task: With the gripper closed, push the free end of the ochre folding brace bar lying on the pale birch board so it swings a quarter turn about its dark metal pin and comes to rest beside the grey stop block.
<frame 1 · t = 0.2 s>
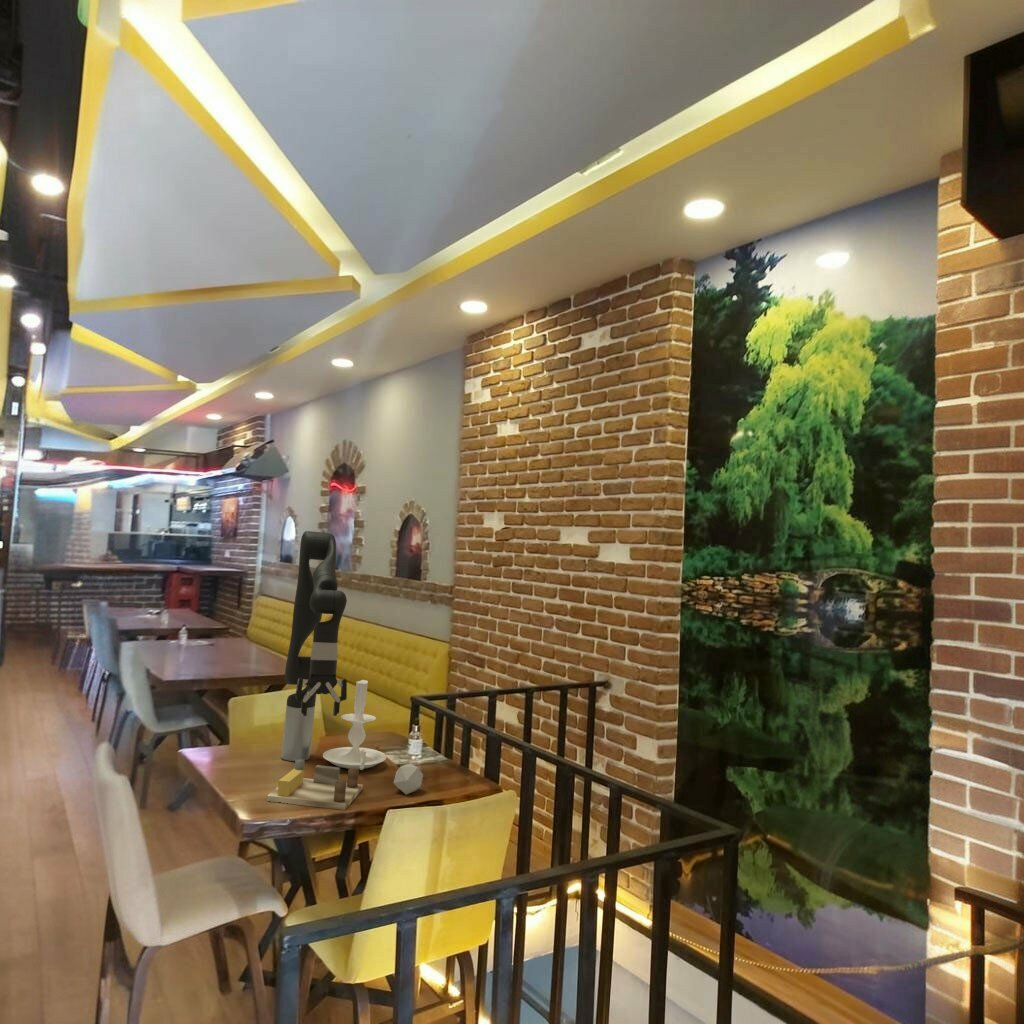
hand: (319, 715, 218), 22 cm above the table, tool pointing down, fingers open, 8 cm apart
brace bar: (292, 776, 215), point 5 cm above the table, hinge at 0.0°
seat board: (316, 795, 216), on the table
candlestick: (355, 767, 245), on the table
die: (407, 792, 226), on the table
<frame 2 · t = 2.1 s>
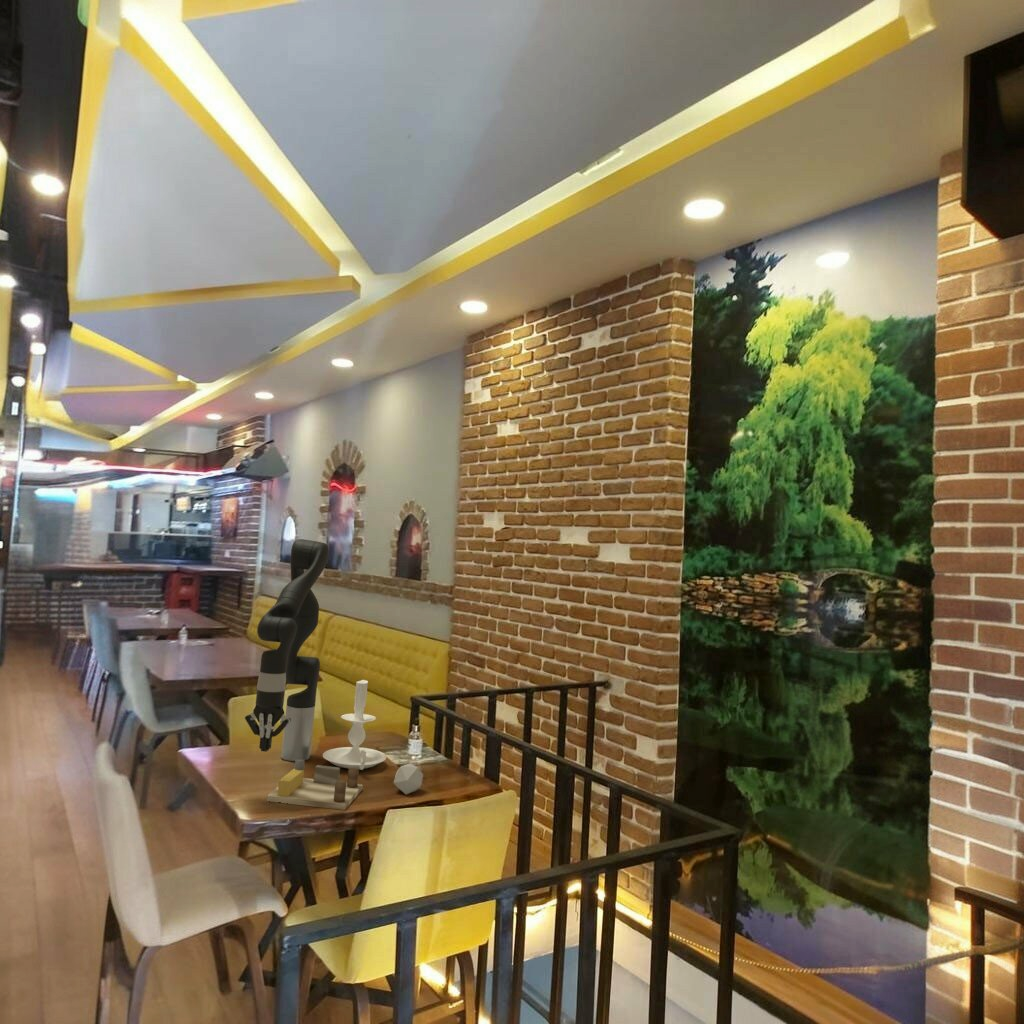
hand: (264, 750, 211), 13 cm above the table, tool pointing down, fingers closed
nothing on the table moved.
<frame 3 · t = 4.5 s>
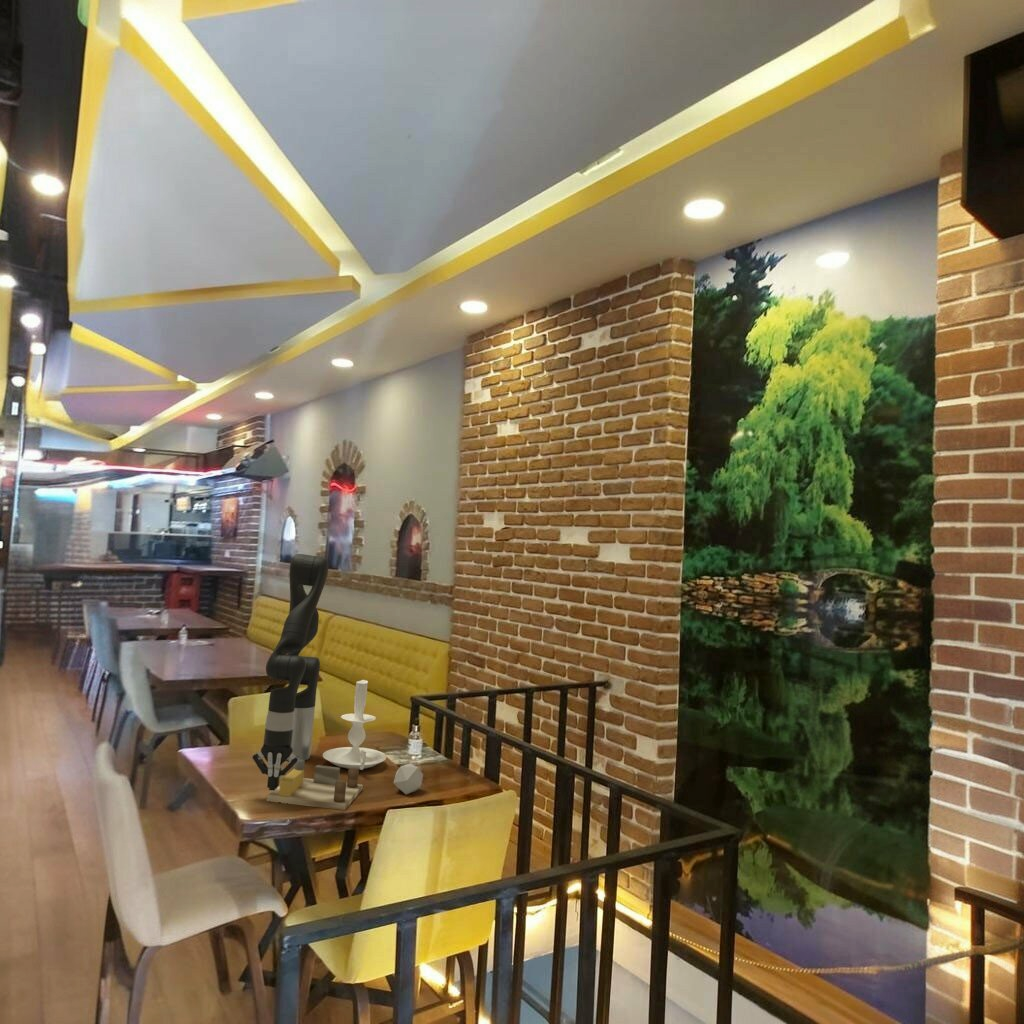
hand: (272, 789, 210), 3 cm above the table, tool pointing down, fingers closed
brace bar: (293, 777, 215), point 5 cm above the table, hinge at 2.2°, touching gripper
everything else where it was.
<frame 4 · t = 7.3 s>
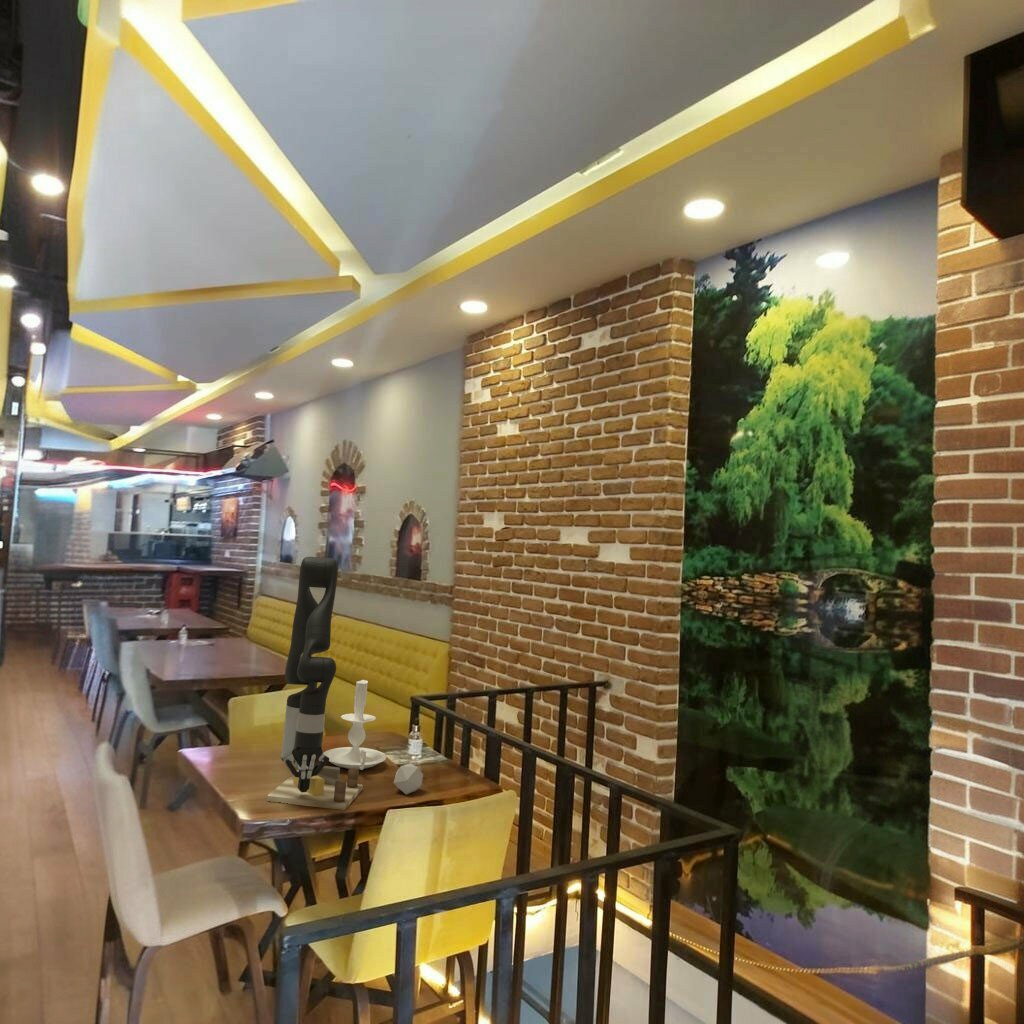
hand: (302, 791, 210), 3 cm above the table, tool pointing down, fingers closed
brace bar: (308, 776, 217), point 5 cm above the table, hinge at 47.6°, touching gripper
everything else where it was.
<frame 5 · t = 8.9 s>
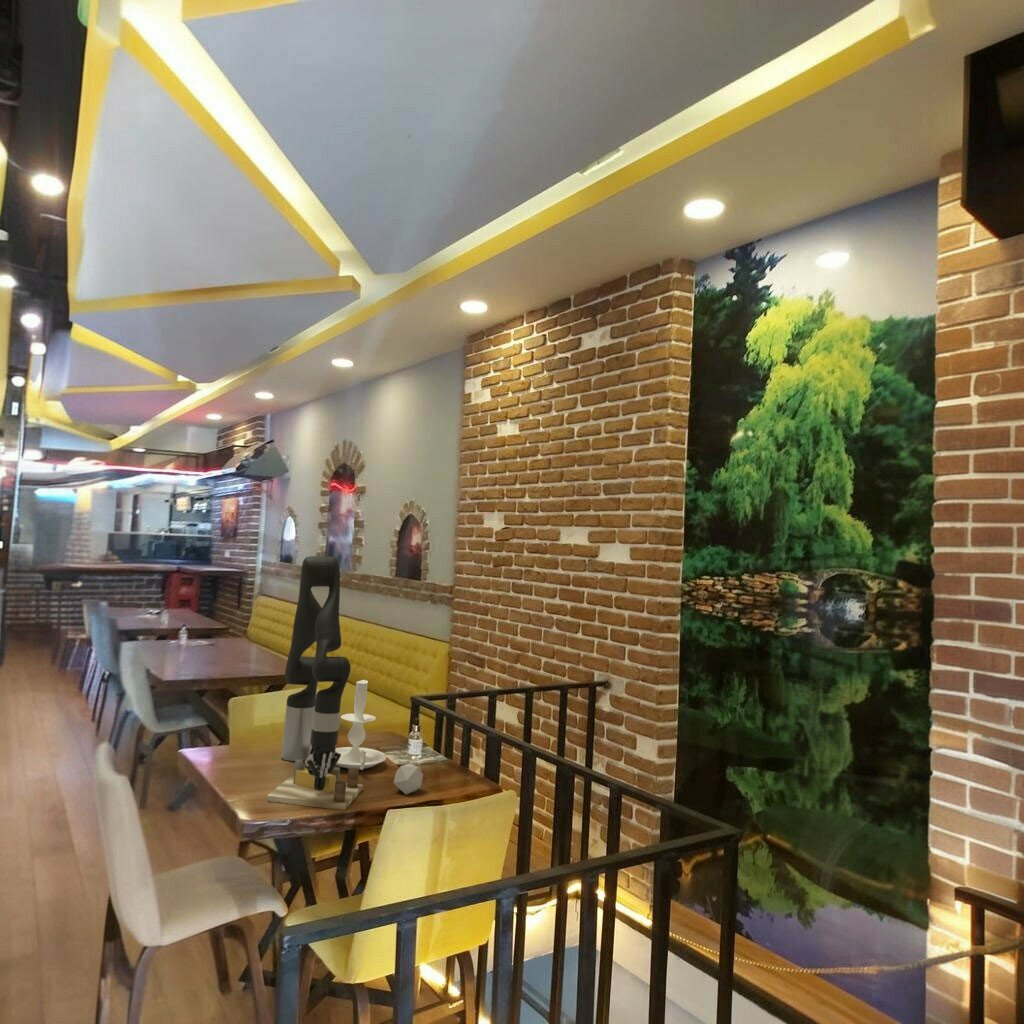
hand: (318, 789, 213), 3 cm above the table, tool pointing down, fingers closed
brace bar: (313, 775, 218), point 5 cm above the table, hinge at 70.8°, touching gripper
everything else where it was.
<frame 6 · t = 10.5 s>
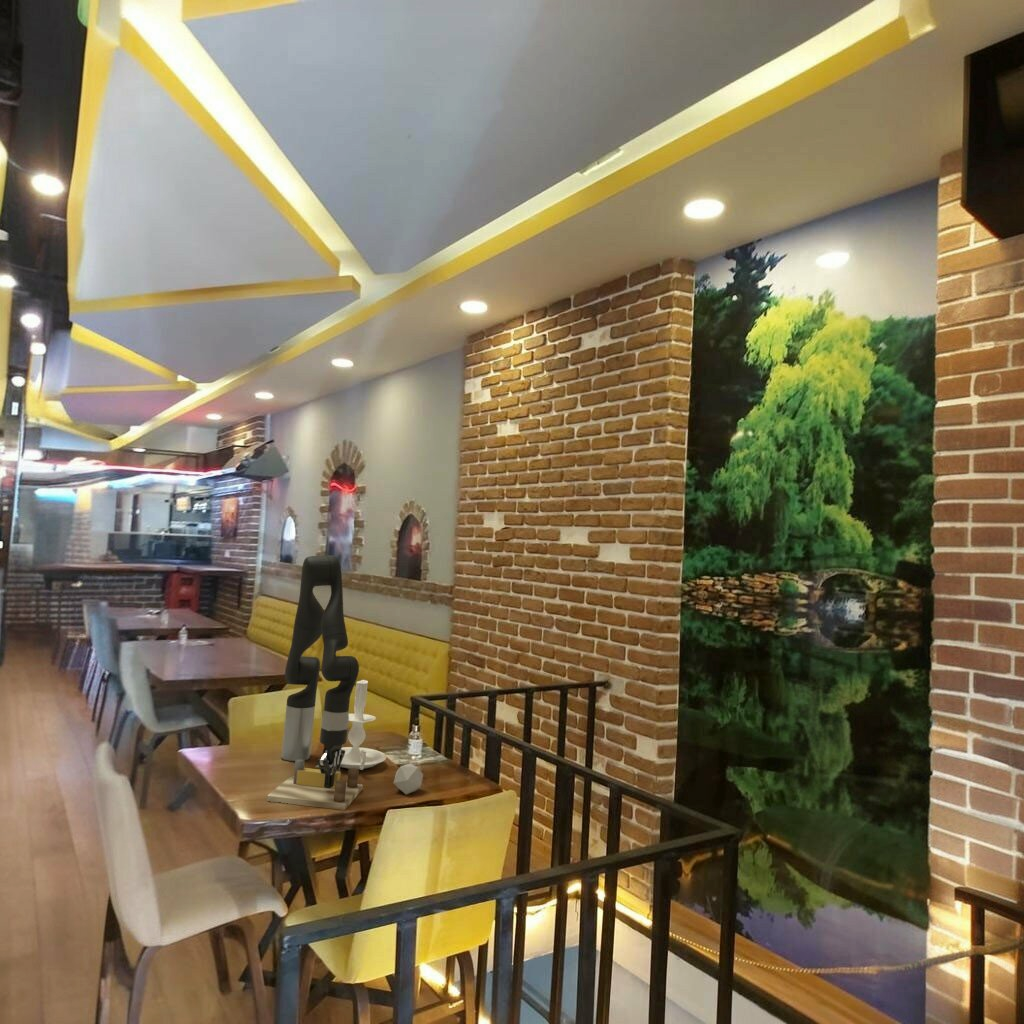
hand: (328, 787, 216), 3 cm above the table, tool pointing down, fingers closed
brace bar: (316, 773, 220), point 5 cm above the table, hinge at 89.8°, touching gripper
everything else where it was.
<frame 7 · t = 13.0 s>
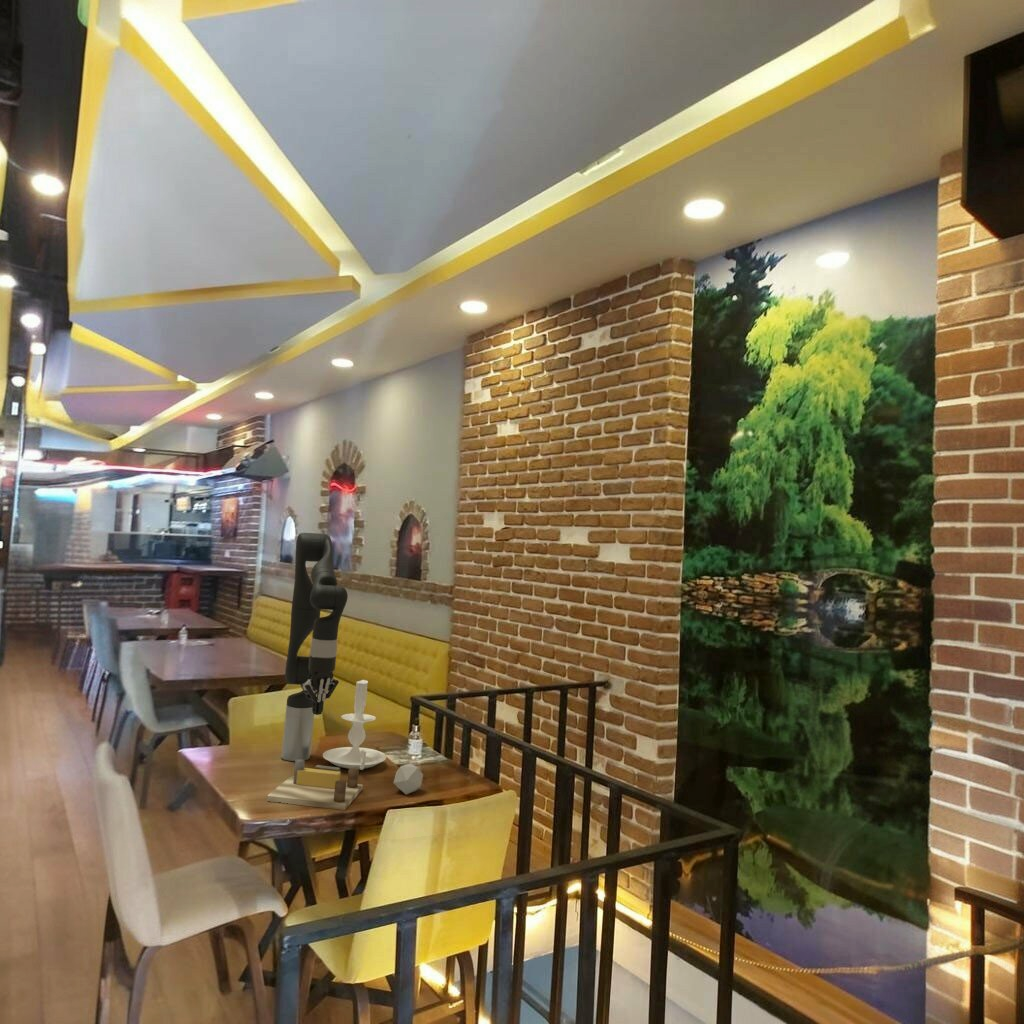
hand: (317, 714, 218), 23 cm above the table, tool pointing down, fingers closed
brace bar: (316, 773, 220), point 5 cm above the table, hinge at 90.1°
everything else where it was.
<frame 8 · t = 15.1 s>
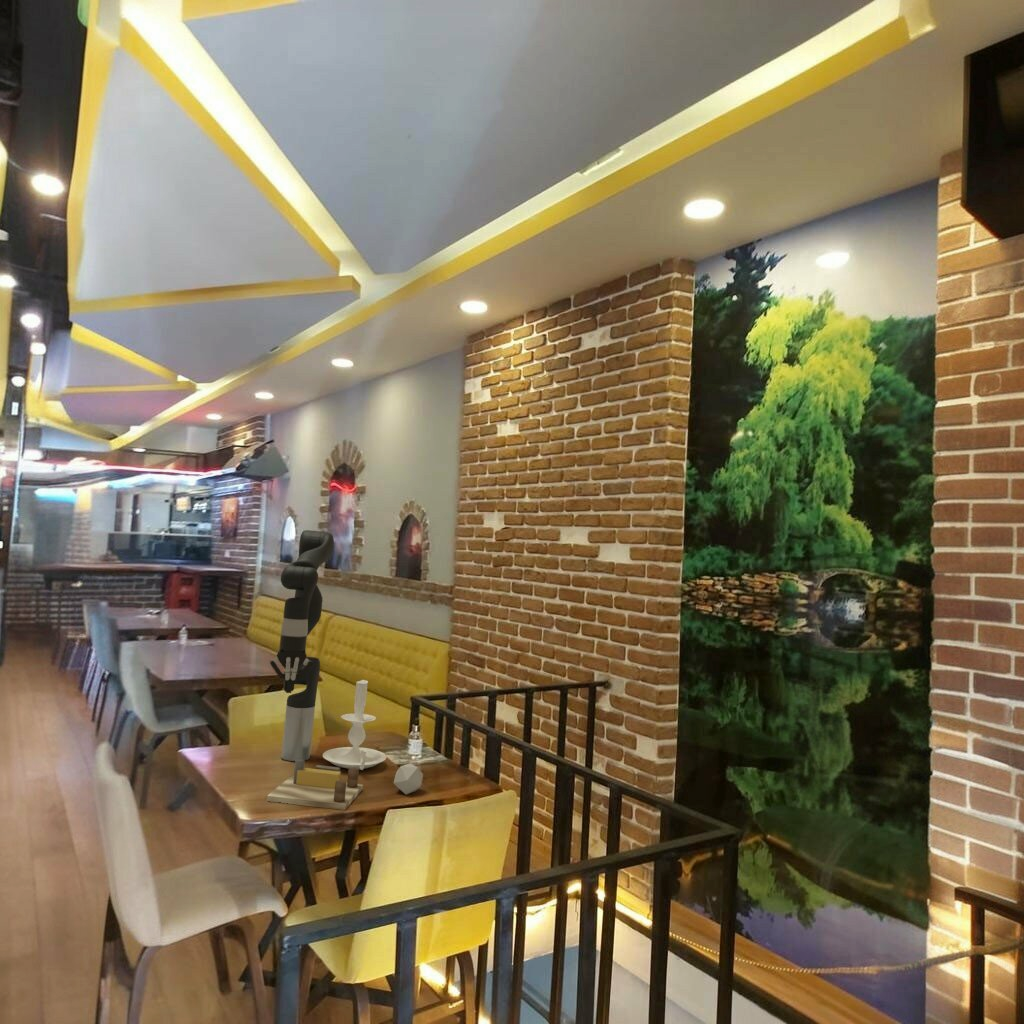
hand: (288, 692, 223), 27 cm above the table, tool pointing down, fingers closed
nothing on the table moved.
at the end: brace bar at +90° (first picture: +0°) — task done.
